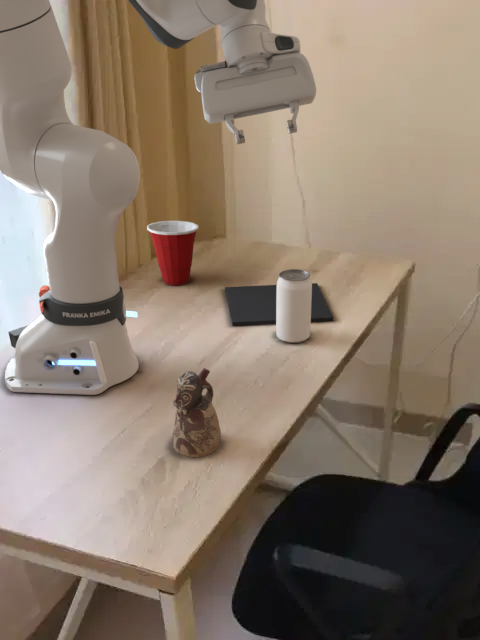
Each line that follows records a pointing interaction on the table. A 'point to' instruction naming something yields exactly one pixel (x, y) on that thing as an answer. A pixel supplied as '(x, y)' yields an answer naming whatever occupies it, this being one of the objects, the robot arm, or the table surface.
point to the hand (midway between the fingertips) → (267, 137)
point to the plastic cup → (174, 249)
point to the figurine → (195, 416)
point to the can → (293, 306)
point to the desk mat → (267, 305)
